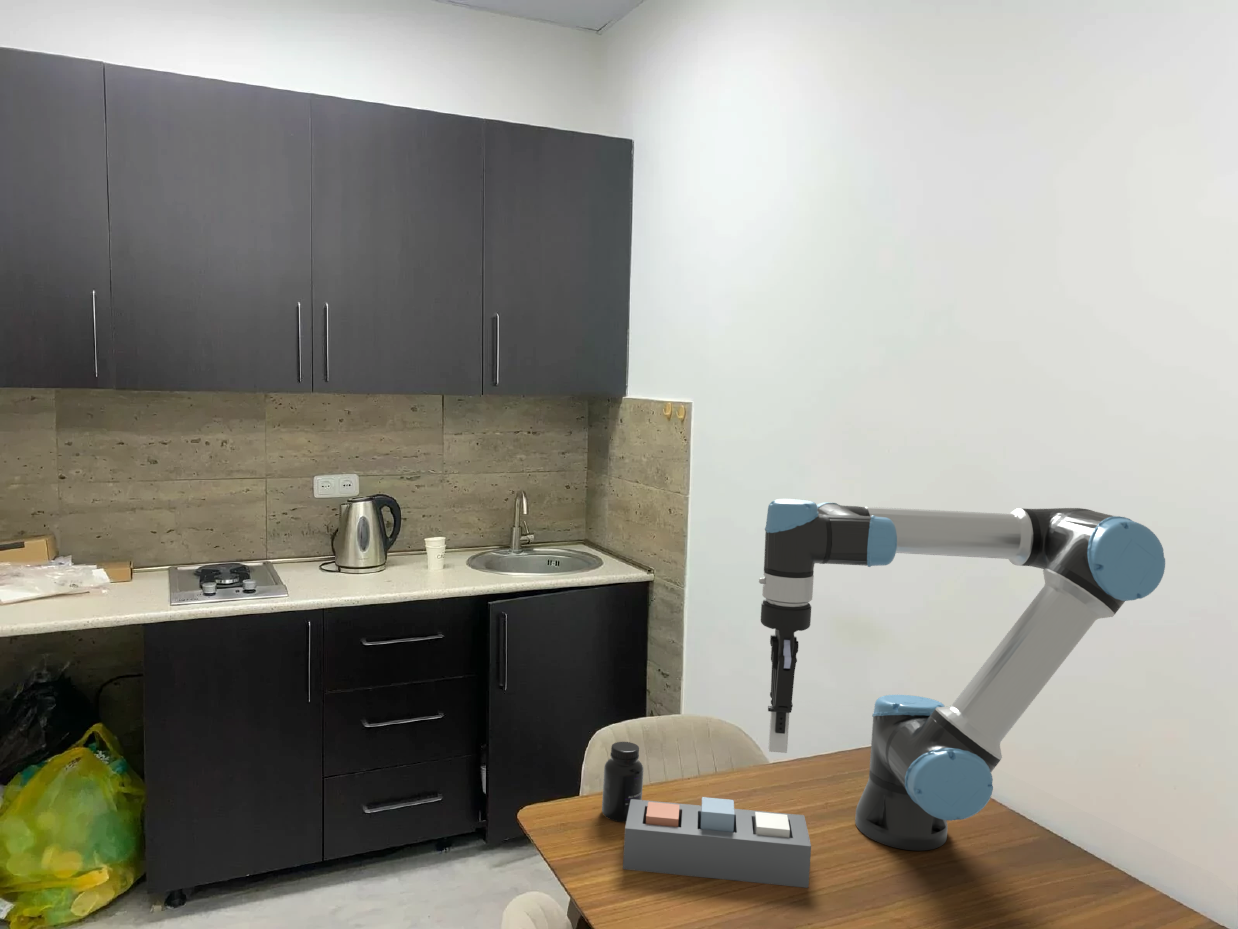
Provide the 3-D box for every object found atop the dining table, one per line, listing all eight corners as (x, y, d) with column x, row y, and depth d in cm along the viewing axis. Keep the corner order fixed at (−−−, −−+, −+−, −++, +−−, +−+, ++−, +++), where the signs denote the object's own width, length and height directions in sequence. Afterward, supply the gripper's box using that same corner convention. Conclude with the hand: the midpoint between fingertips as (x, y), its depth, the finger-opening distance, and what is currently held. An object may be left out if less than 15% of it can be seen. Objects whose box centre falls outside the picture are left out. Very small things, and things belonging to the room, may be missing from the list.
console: (801, 854, 145) (804, 815, 144) (808, 888, 135) (811, 846, 135) (628, 837, 148) (630, 799, 147) (622, 869, 138) (625, 828, 137)
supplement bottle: (637, 825, 152) (640, 756, 151) (597, 820, 153) (601, 751, 152) (644, 807, 158) (647, 741, 157) (606, 802, 160) (609, 736, 159)
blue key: (731, 830, 143) (733, 800, 143) (732, 846, 138) (734, 814, 138) (700, 827, 144) (702, 797, 143) (699, 842, 139) (701, 811, 138)
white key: (785, 845, 143) (787, 814, 142) (787, 861, 138) (789, 830, 137) (753, 842, 143) (755, 811, 143) (754, 858, 138) (756, 826, 138)
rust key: (677, 834, 144) (679, 804, 144) (676, 850, 139) (678, 819, 139) (646, 831, 145) (648, 801, 144) (644, 847, 140) (646, 816, 139)
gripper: (759, 590, 144) (750, 732, 146) (764, 609, 131) (755, 765, 133) (806, 592, 144) (797, 736, 146) (817, 612, 131) (807, 769, 133)
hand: (777, 750), depth 139 cm, fingers closed
